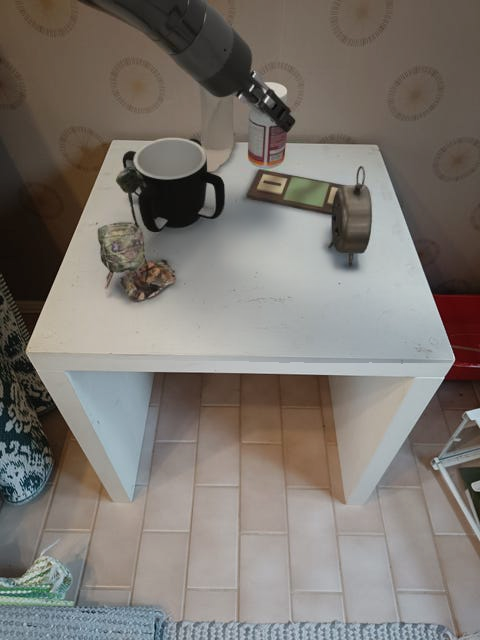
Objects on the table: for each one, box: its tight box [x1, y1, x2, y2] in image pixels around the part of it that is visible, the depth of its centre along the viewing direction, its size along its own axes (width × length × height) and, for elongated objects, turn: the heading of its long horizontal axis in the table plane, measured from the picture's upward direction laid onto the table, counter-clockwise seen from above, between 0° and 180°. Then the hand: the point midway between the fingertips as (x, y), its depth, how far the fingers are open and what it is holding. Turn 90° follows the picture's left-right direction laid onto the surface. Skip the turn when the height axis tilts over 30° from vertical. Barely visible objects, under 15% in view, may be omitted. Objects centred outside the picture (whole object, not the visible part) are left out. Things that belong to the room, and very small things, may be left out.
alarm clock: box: [328, 165, 373, 267], centre depth 69 cm, size 11×5×16 cm, turn 179°
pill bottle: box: [247, 81, 288, 170], centre depth 67 cm, size 6×6×11 cm
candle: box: [198, 83, 235, 173], centre depth 85 cm, size 7×14×20 cm, turn 167°
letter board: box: [246, 168, 347, 216], centre depth 84 cm, size 22×9×1 cm, turn 73°
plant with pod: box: [94, 165, 177, 302], centre depth 63 cm, size 8×11×20 cm
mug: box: [122, 137, 226, 234], centre depth 76 cm, size 16×16×12 cm
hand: (277, 116), depth 67 cm, fingers closed on pill bottle, 6 cm apart
